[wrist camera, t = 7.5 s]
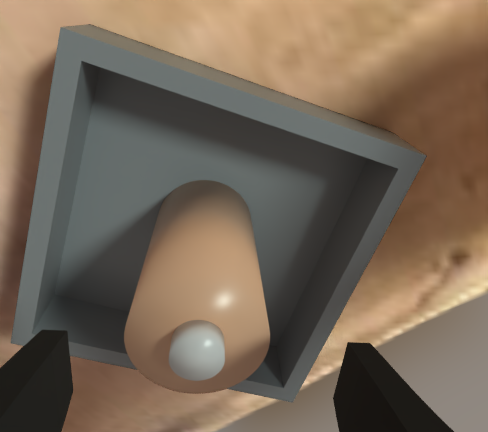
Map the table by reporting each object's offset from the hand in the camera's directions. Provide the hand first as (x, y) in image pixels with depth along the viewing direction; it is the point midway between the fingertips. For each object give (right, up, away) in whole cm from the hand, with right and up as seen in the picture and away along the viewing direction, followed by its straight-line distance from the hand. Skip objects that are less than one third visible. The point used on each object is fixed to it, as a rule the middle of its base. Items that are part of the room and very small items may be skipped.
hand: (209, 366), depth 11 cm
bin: (-1, +4, +10) cm, 10 cm away
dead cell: (-1, +4, +9) cm, 10 cm away
